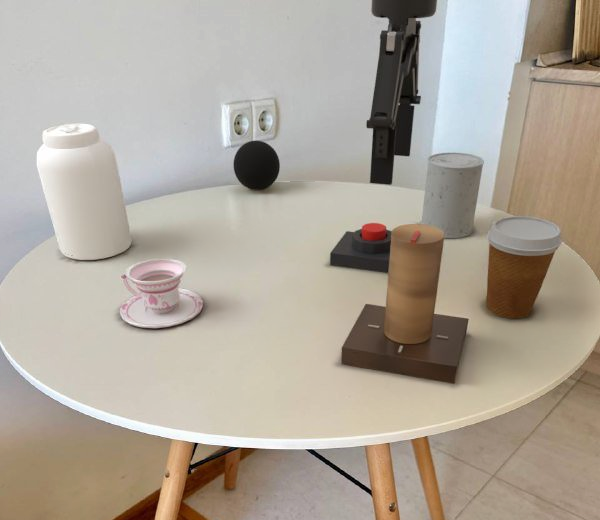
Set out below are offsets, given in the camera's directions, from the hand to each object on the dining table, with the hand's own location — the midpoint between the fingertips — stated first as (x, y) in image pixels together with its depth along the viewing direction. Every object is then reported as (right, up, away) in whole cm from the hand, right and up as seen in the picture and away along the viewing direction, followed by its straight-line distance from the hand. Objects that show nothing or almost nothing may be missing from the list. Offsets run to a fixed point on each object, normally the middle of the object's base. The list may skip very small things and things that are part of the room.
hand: (391, 168), depth 80 cm
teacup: (-33, -18, +7) cm, 38 cm away
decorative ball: (-22, +15, +51) cm, 57 cm away
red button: (0, -4, +18) cm, 18 cm away
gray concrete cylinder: (+15, 0, +30) cm, 34 cm away
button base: (0, -7, +20) cm, 21 cm away
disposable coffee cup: (+18, -18, +5) cm, 26 cm away
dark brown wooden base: (+1, -25, -3) cm, 25 cm away
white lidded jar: (-49, -4, +26) cm, 55 cm away
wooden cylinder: (+1, -23, -5) cm, 23 cm away
